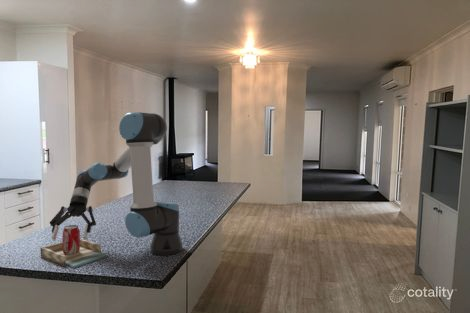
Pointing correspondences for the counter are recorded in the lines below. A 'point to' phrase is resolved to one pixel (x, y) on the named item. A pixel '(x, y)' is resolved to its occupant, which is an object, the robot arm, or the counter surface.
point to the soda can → (71, 239)
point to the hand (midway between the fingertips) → (69, 239)
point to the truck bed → (83, 256)
